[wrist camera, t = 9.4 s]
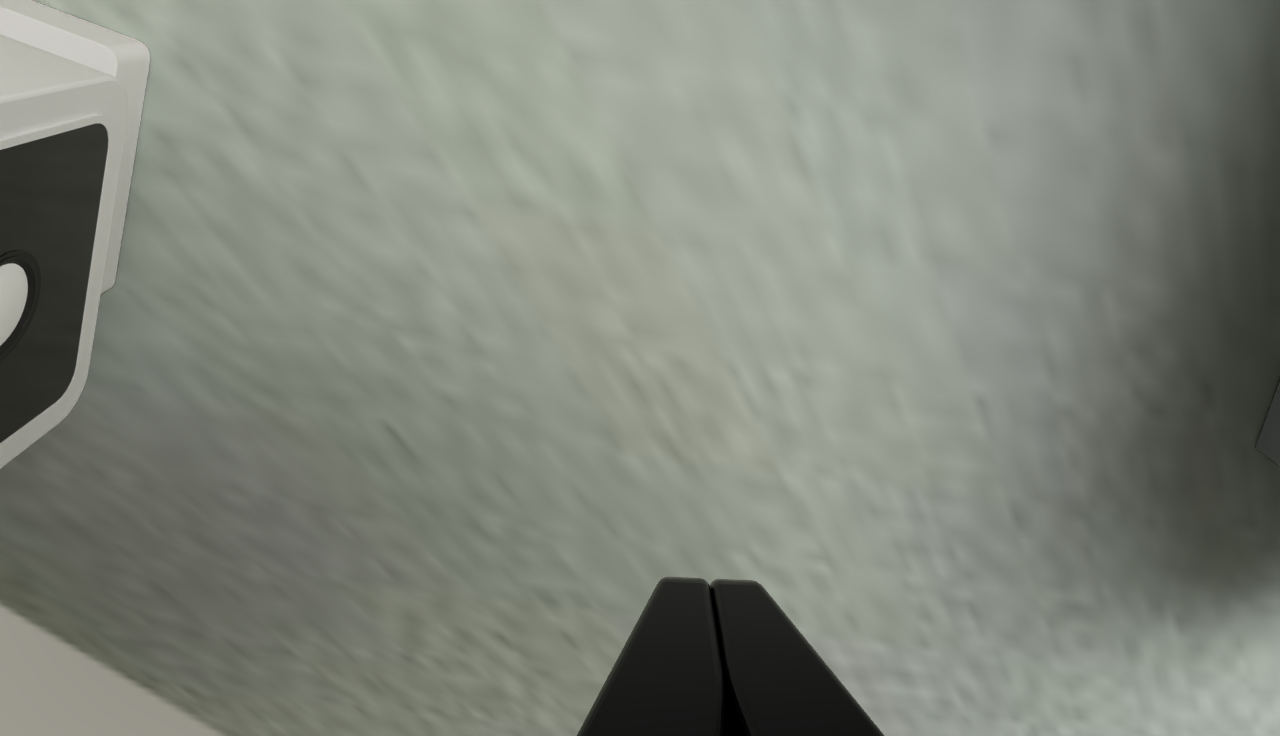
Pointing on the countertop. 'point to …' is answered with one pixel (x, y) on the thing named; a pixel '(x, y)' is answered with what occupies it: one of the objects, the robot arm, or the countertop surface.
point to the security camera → (59, 203)
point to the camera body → (1271, 431)
